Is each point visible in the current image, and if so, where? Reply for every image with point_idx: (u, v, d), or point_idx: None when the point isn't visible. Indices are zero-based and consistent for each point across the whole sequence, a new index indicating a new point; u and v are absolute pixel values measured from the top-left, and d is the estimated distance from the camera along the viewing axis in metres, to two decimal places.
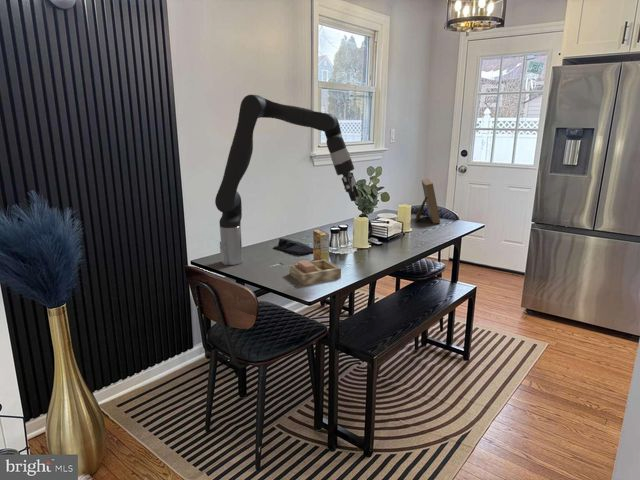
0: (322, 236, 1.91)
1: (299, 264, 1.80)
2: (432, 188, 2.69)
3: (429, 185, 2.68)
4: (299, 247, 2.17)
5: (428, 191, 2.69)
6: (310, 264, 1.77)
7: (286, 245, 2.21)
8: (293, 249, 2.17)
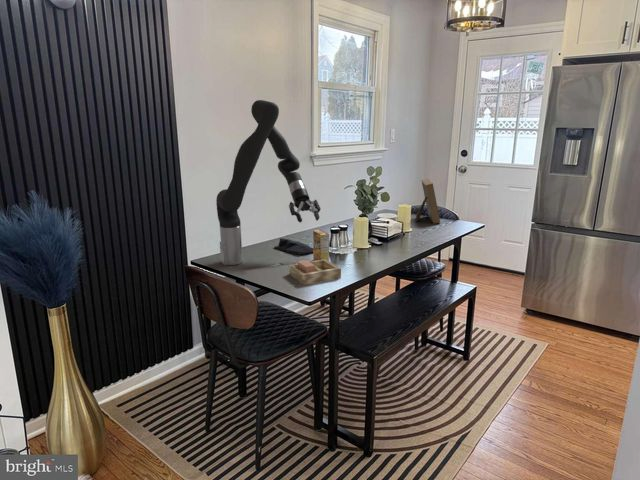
0: (322, 236, 1.91)
1: (299, 264, 1.80)
2: (432, 188, 2.69)
3: (429, 185, 2.68)
4: (299, 247, 2.17)
5: (428, 191, 2.69)
6: (310, 264, 1.77)
7: (286, 245, 2.21)
8: (293, 249, 2.17)
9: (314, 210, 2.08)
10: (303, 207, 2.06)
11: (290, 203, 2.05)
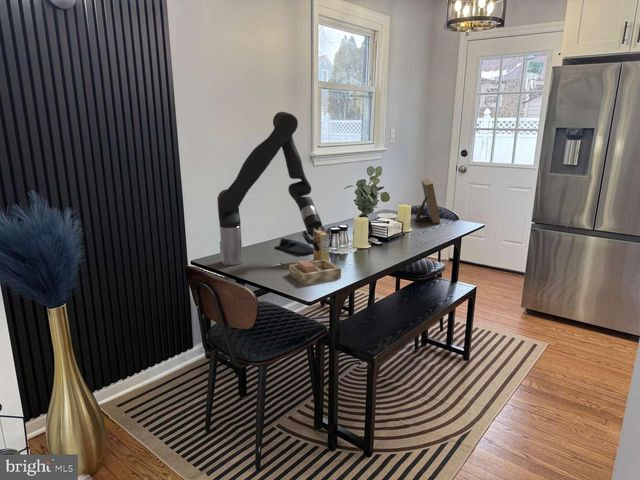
0: (322, 236, 1.91)
1: (299, 264, 1.80)
2: (432, 188, 2.69)
3: (429, 185, 2.68)
4: (300, 247, 2.17)
5: (428, 191, 2.69)
6: (310, 264, 1.77)
7: (287, 245, 2.21)
8: (294, 249, 2.17)
9: None
10: None
11: (304, 232, 1.96)
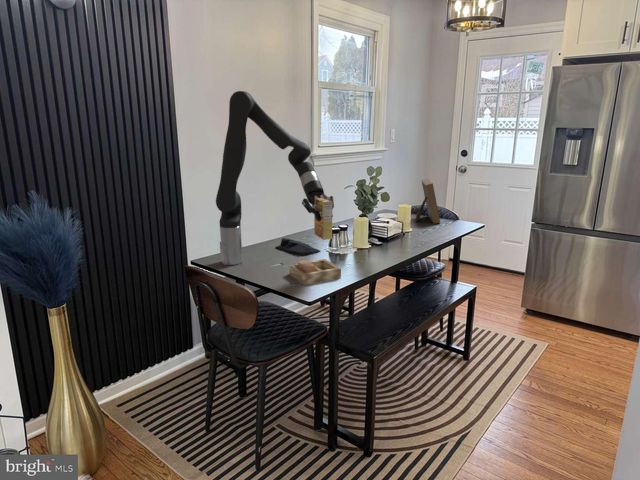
0: (324, 204, 1.72)
1: (299, 264, 1.80)
2: (432, 188, 2.69)
3: (429, 185, 2.68)
4: (300, 247, 2.17)
5: (428, 191, 2.69)
6: (310, 264, 1.77)
7: (288, 245, 2.22)
8: (294, 249, 2.17)
9: None
10: None
11: (304, 200, 1.76)
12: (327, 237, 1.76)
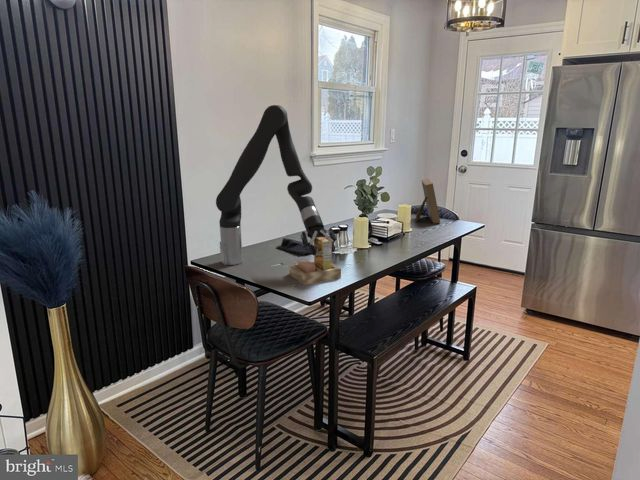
0: (324, 243, 1.75)
1: (299, 264, 1.80)
2: (432, 188, 2.69)
3: (429, 185, 2.68)
4: (301, 247, 2.17)
5: (428, 191, 2.69)
6: (310, 264, 1.77)
7: (288, 245, 2.22)
8: (295, 249, 2.17)
9: None
10: None
11: (302, 233, 1.80)
12: None
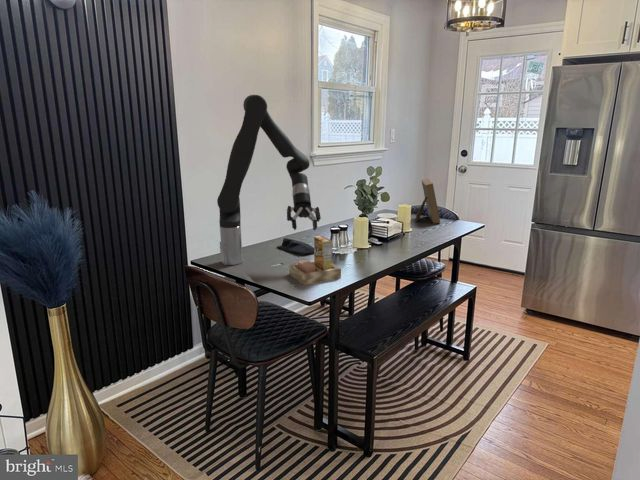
0: (324, 243, 1.75)
1: (299, 264, 1.80)
2: (432, 188, 2.69)
3: (429, 185, 2.68)
4: (301, 247, 2.17)
5: (428, 191, 2.69)
6: (310, 264, 1.77)
7: (289, 245, 2.22)
8: (295, 249, 2.17)
9: (313, 218, 1.90)
10: (301, 213, 1.90)
11: (288, 207, 1.89)
12: None
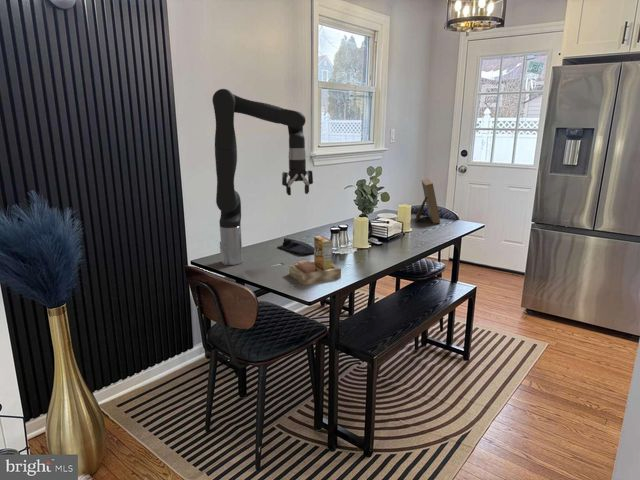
0: (324, 243, 1.75)
1: (299, 264, 1.80)
2: (432, 188, 2.69)
3: (429, 185, 2.68)
4: (302, 247, 2.17)
5: (428, 191, 2.69)
6: (310, 264, 1.77)
7: (289, 245, 2.22)
8: (295, 249, 2.17)
9: (306, 184, 2.02)
10: (296, 179, 2.00)
11: (284, 174, 1.96)
12: None
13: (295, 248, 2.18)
